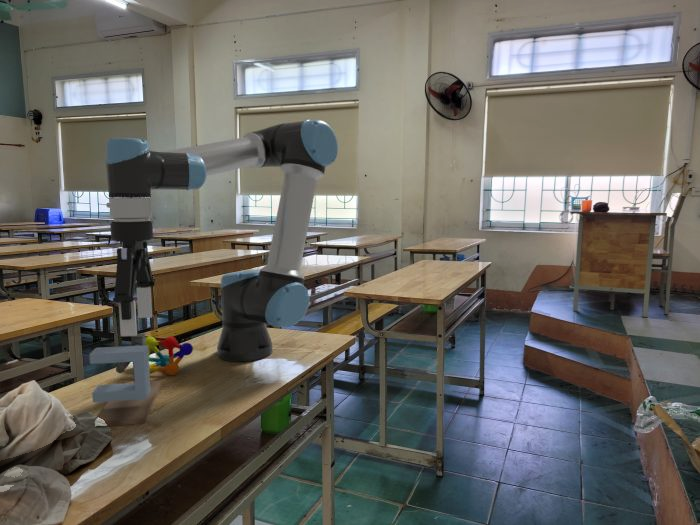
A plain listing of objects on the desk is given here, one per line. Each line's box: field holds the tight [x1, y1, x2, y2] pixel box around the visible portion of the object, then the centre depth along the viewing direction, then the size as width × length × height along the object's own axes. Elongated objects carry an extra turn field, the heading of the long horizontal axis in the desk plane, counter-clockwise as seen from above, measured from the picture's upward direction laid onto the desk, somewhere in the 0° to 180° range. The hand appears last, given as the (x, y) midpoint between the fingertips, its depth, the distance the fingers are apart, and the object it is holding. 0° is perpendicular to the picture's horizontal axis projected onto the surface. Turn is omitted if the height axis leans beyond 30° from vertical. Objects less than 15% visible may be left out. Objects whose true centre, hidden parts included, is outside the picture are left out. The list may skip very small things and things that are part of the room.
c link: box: [89, 345, 151, 403], centre depth 99 cm, size 10×4×10 cm, turn 100°
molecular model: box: [145, 336, 194, 376], centre depth 123 cm, size 11×10×15 cm
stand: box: [97, 333, 163, 427], centre depth 104 cm, size 9×19×13 cm, turn 10°
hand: (137, 326), depth 99 cm, fingers open, 13 cm apart
